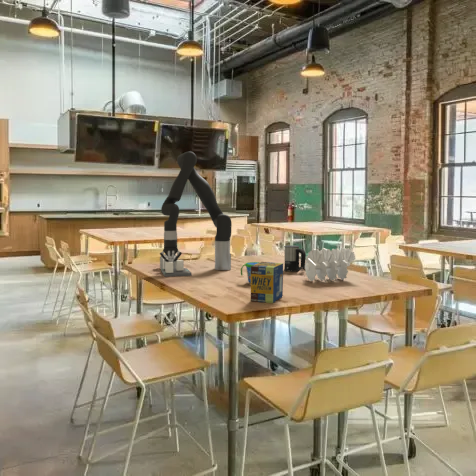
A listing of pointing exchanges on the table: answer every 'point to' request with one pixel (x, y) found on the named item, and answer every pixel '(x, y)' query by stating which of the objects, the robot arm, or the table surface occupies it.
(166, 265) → the tab
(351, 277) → the table surface
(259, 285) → the protein box
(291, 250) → the milk frother
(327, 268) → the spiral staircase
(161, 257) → the paw print plaque
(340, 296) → the table surface
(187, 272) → the switch bank
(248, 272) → the snack cup
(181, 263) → the tab middle
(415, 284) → the table surface
